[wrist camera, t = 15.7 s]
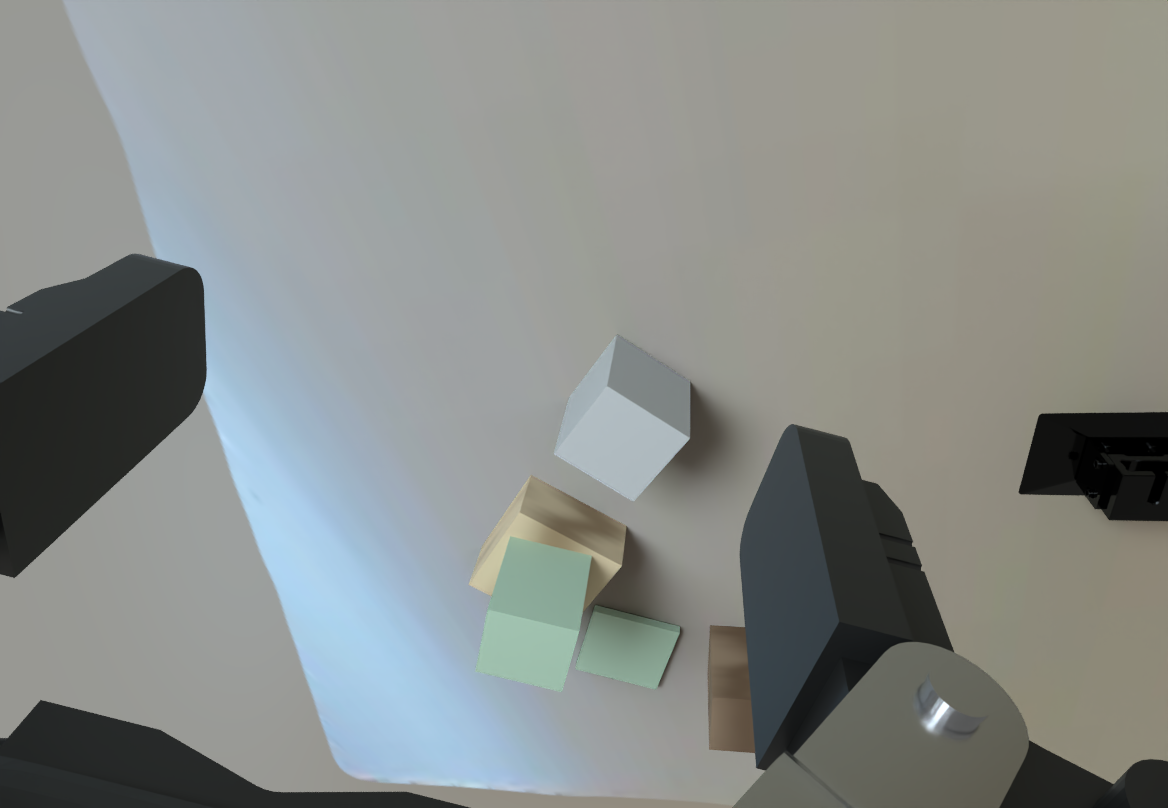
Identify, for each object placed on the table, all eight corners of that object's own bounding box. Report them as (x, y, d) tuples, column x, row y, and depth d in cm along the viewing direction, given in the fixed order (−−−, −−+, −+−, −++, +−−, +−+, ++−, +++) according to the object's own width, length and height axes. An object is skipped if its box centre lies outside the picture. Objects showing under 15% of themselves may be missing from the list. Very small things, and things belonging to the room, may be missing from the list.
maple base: (626, 523, 50) (622, 565, 47) (573, 589, 53) (565, 633, 50) (531, 472, 49) (519, 512, 45) (483, 542, 52) (468, 584, 49)
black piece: (1259, 394, 41) (1318, 441, 37) (1213, 505, 45) (1263, 559, 41) (1007, 395, 43) (1038, 440, 39) (983, 501, 46) (1009, 553, 42)
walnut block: (785, 629, 53) (795, 702, 47) (779, 680, 55) (788, 755, 50) (710, 625, 53) (712, 697, 48) (707, 675, 56) (709, 749, 51)
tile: (679, 626, 54) (679, 633, 53) (656, 682, 57) (656, 689, 56) (595, 604, 53) (594, 611, 53) (576, 662, 57) (575, 669, 56)
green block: (591, 555, 46) (579, 631, 41) (575, 613, 49) (561, 691, 44) (510, 536, 46) (487, 609, 41) (498, 595, 49) (475, 671, 44)
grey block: (690, 380, 44) (690, 438, 39) (639, 440, 46) (633, 501, 41) (617, 333, 43) (606, 385, 38) (569, 396, 46) (553, 454, 40)
